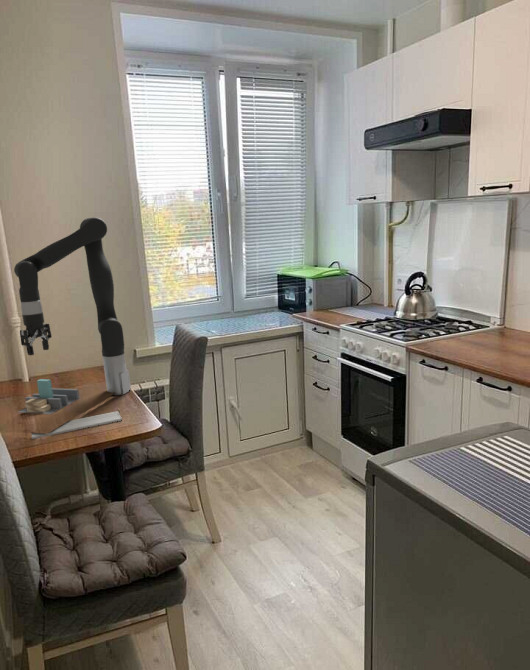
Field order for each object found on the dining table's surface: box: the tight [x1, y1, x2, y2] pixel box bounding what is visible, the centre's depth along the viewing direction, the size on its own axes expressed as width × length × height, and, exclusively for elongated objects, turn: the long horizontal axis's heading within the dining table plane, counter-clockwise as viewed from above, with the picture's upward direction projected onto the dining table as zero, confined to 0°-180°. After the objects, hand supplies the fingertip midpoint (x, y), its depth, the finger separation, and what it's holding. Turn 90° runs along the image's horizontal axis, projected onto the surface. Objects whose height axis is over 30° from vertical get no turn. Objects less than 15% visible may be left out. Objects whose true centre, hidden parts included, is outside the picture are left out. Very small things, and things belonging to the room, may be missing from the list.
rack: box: [18, 387, 81, 415], centre depth 207 cm, size 16×18×6 cm
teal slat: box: [36, 378, 53, 398], centre depth 205 cm, size 5×2×11 cm, turn 74°
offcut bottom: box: [26, 404, 51, 413], centre depth 201 cm, size 8×4×2 cm, turn 74°
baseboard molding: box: [31, 410, 123, 440], centre depth 188 cm, size 31×3×12 cm
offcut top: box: [24, 399, 47, 408], centre depth 201 cm, size 7×4×2 cm, turn 74°
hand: (38, 352), depth 202 cm, fingers open, 8 cm apart
